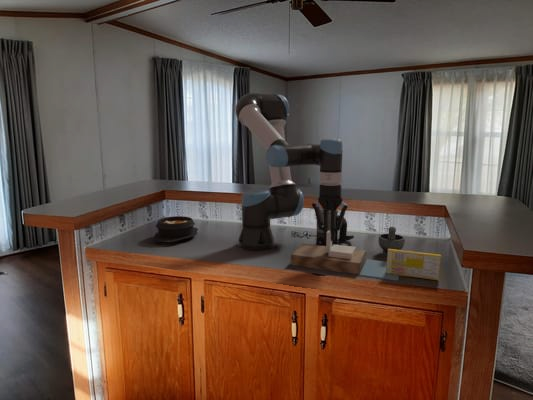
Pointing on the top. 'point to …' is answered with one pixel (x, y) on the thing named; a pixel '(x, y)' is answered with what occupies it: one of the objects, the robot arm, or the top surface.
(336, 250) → the tile
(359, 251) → the panel
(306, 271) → the top surface
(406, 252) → the candy box
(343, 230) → the milk frother
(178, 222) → the casserole
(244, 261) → the top surface
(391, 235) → the mortar and pestle
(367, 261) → the mat
